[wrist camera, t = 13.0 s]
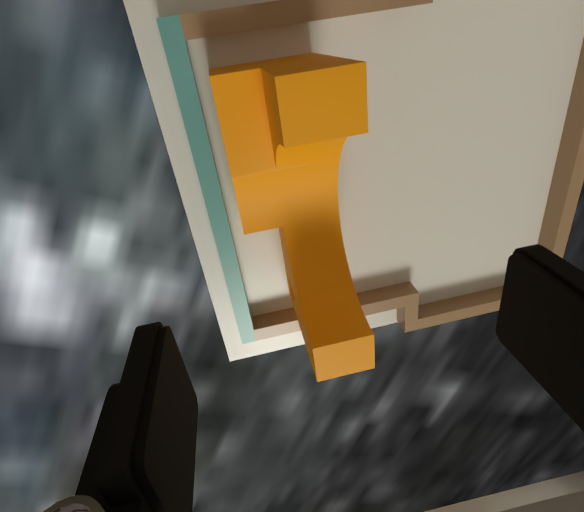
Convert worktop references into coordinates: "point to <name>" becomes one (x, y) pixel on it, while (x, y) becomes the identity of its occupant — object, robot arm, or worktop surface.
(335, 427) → the worktop surface
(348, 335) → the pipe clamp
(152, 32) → the shallow rimmed tray
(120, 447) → the robot arm
